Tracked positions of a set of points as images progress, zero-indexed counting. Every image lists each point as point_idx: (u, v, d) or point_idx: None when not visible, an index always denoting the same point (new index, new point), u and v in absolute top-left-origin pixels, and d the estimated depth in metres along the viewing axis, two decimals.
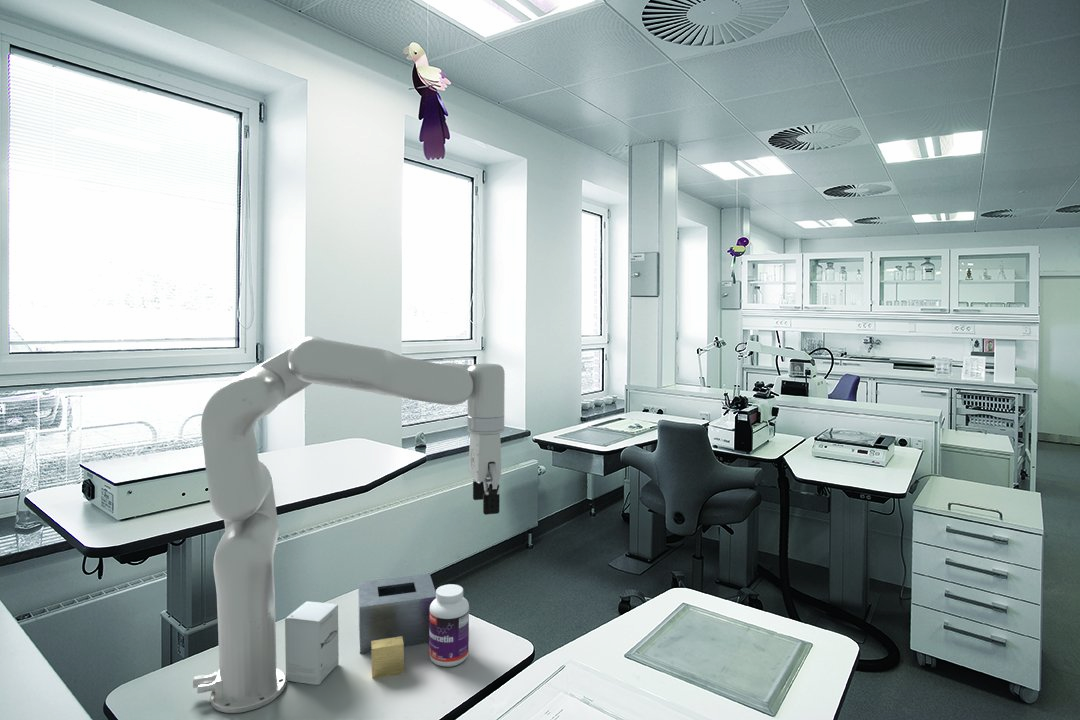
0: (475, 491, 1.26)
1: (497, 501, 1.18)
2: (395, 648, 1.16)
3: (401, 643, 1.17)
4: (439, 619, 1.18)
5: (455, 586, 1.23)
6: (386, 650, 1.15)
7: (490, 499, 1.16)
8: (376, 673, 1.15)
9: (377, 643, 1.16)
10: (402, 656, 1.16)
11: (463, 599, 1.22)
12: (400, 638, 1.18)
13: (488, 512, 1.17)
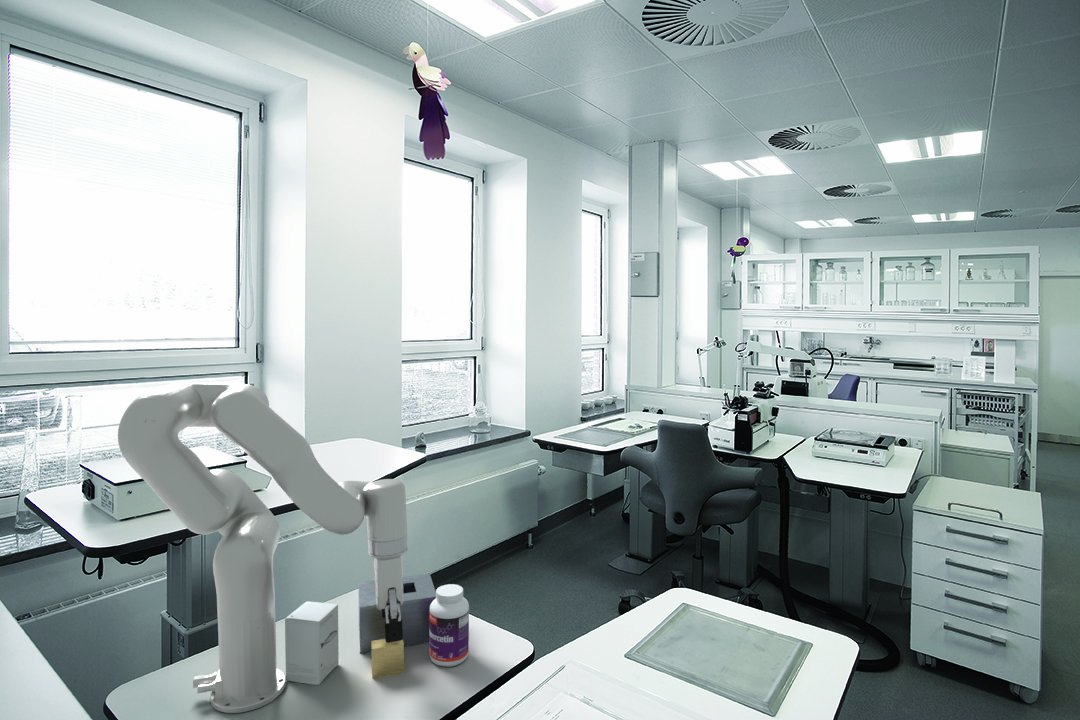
0: (384, 609, 1.20)
1: (400, 628, 1.12)
2: (395, 648, 1.16)
3: (401, 643, 1.17)
4: (439, 619, 1.18)
5: (455, 586, 1.23)
6: (387, 650, 1.15)
7: (392, 627, 1.11)
8: (376, 673, 1.15)
9: (377, 643, 1.16)
10: (402, 656, 1.16)
11: (463, 599, 1.22)
12: None
13: (390, 640, 1.12)
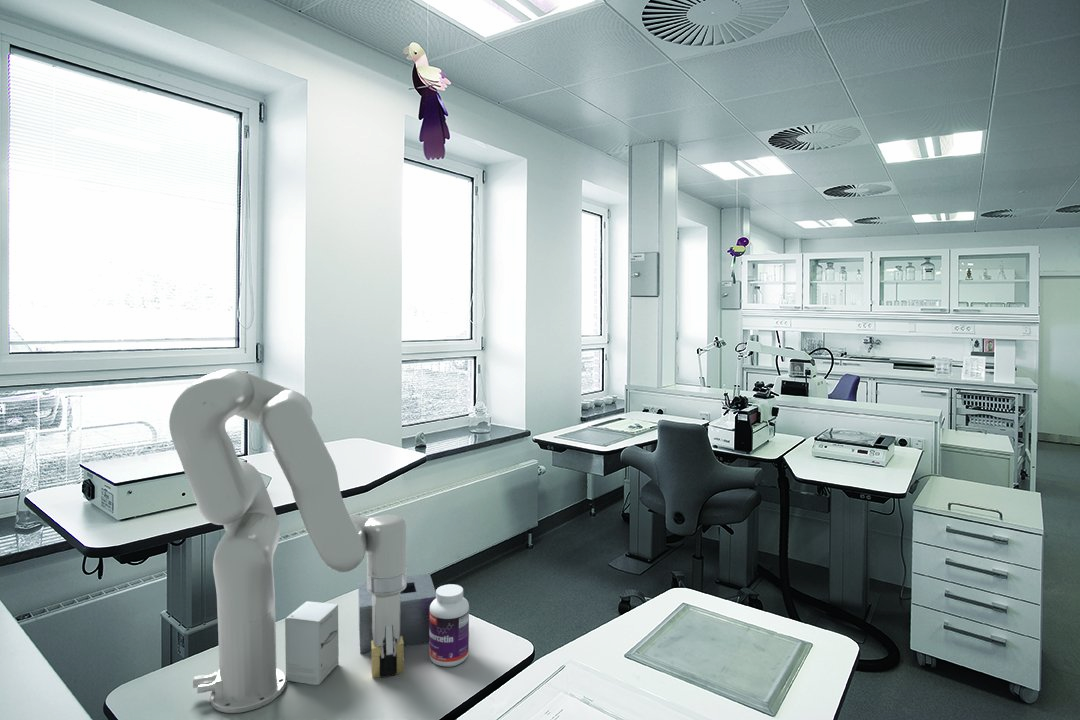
0: None
1: (394, 662, 1.15)
2: None
3: (401, 642, 1.17)
4: (439, 619, 1.18)
5: (455, 586, 1.23)
6: None
7: (386, 662, 1.14)
8: (376, 673, 1.15)
9: None
10: (402, 656, 1.16)
11: (463, 599, 1.22)
12: (400, 638, 1.18)
13: (385, 674, 1.15)
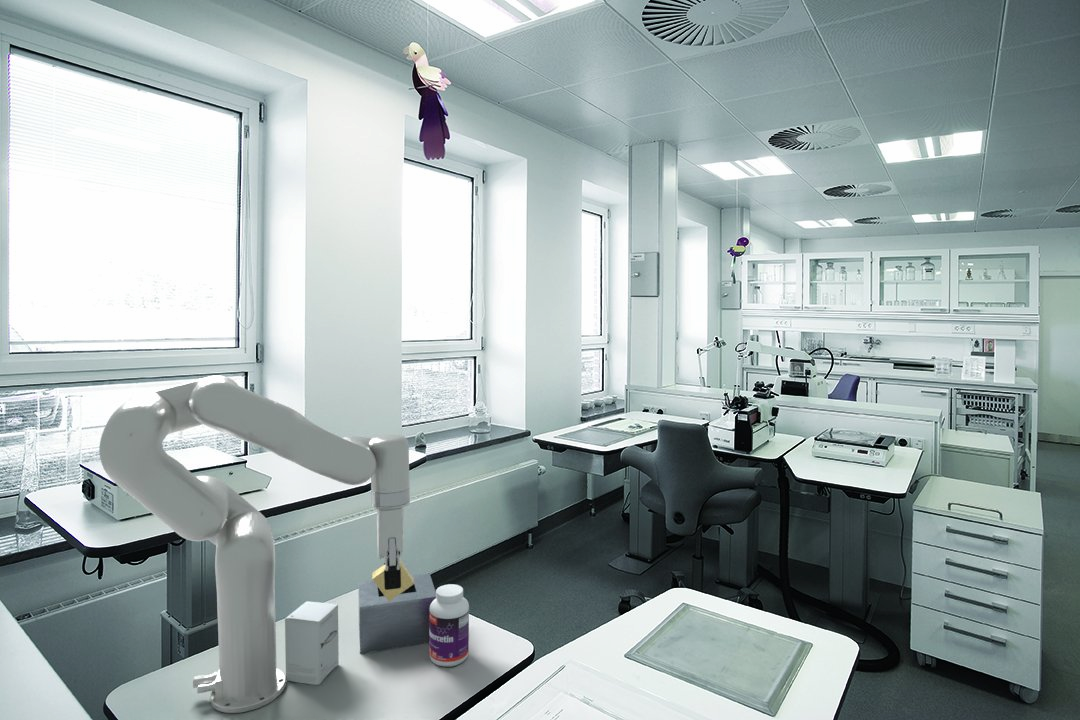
0: None
1: (398, 576, 1.19)
2: None
3: None
4: (439, 619, 1.18)
5: (455, 586, 1.23)
6: None
7: (391, 575, 1.18)
8: (389, 595, 1.20)
9: (377, 572, 1.20)
10: (404, 571, 1.20)
11: (463, 599, 1.22)
12: None
13: (389, 587, 1.19)
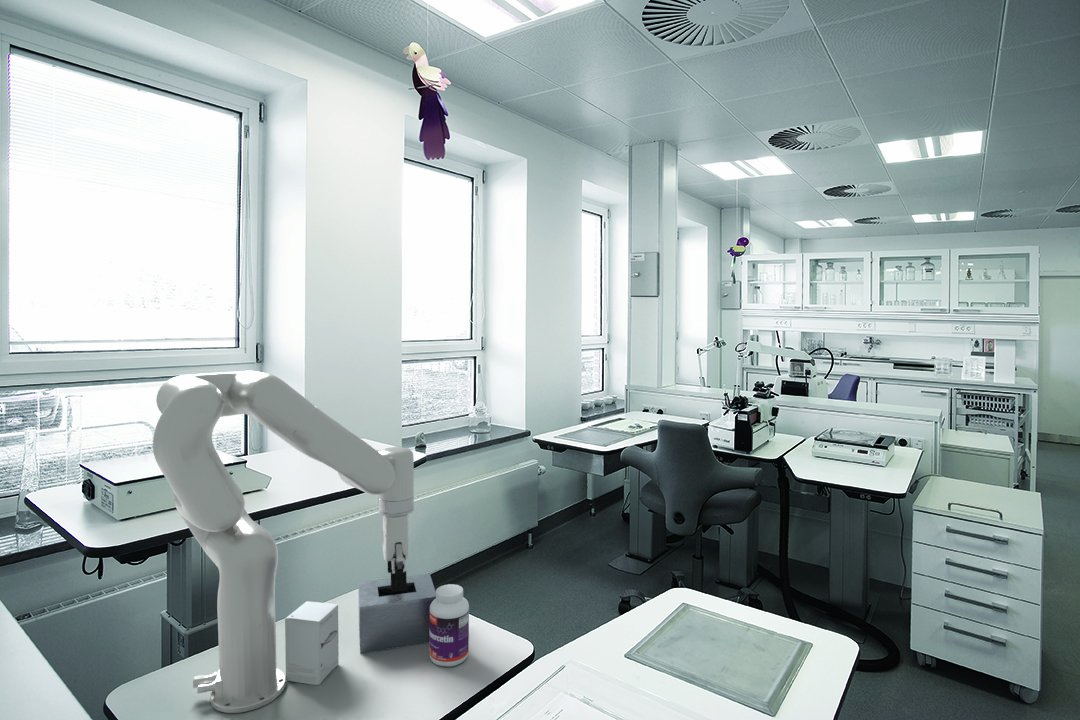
0: (389, 564, 1.34)
1: (404, 579, 1.26)
2: None
3: None
4: (439, 619, 1.18)
5: (455, 586, 1.23)
6: None
7: (397, 578, 1.25)
8: None
9: None
10: None
11: (463, 599, 1.22)
12: None
13: (395, 589, 1.25)
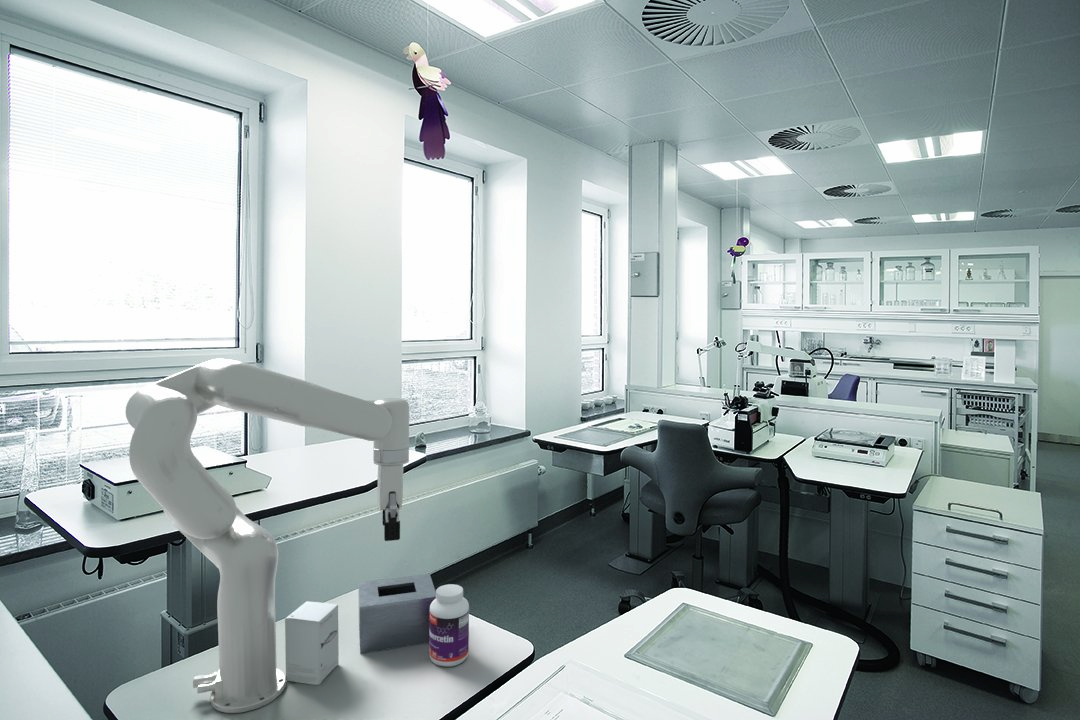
0: (384, 517, 1.34)
1: (398, 528, 1.25)
2: None
3: None
4: (439, 619, 1.18)
5: (455, 586, 1.23)
6: None
7: (390, 527, 1.24)
8: None
9: None
10: None
11: (463, 599, 1.22)
12: None
13: (389, 539, 1.25)
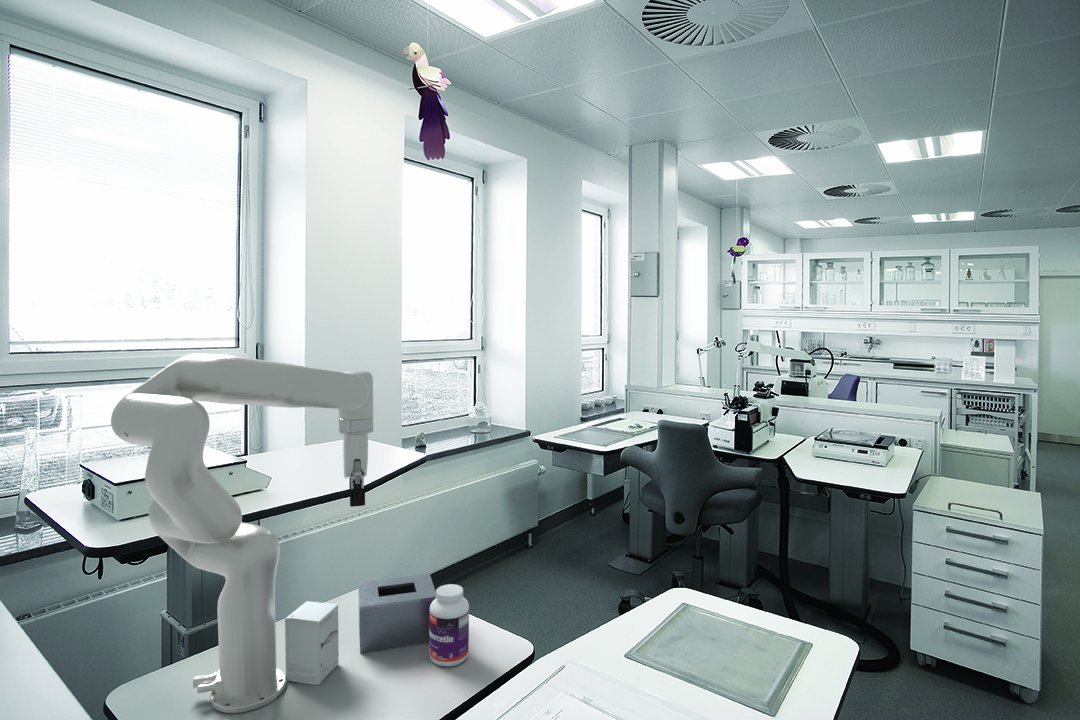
0: (351, 486, 1.39)
1: (363, 494, 1.31)
2: None
3: None
4: (439, 619, 1.18)
5: (455, 586, 1.23)
6: None
7: (355, 493, 1.30)
8: None
9: None
10: None
11: (463, 599, 1.22)
12: None
13: (354, 504, 1.30)
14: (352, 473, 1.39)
